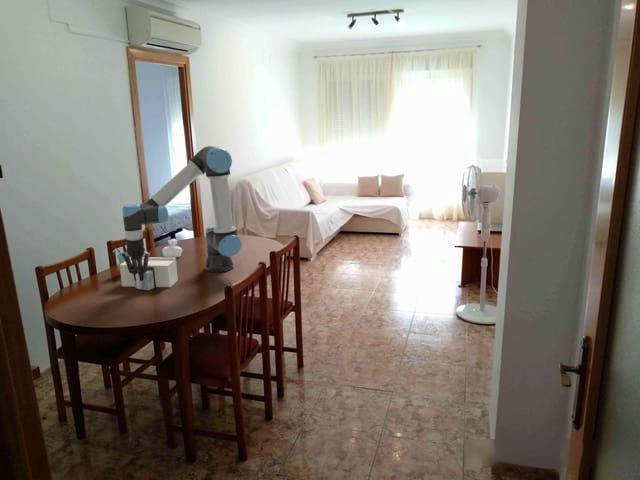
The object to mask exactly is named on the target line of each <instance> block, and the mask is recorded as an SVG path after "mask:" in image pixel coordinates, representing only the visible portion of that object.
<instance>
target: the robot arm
mask: <svg viewBox="0 0 640 480" xmlns="http://www.w3.org/2000/svg"><path fill="white" fill-rule="evenodd" d="M232 164H233V159H232V156H231V153H229V152H228V151H227V150H226V149H224V148H223V147H220V146H211V145H210V146H205V147H202V148H201V149H200V150H199V151H198V152H196V153H195V155H194V156H192V157H191V158H190V159H189V160H188V164H187V165H186V166H184V167H183V168H182V169H181V170H180V171H179V172H178V173H177V174H175V175H174V176H173V177H172V178H171V179H169V181H168V182H167V183H165V184H164V185H163V186H162V187H161V188H160V189H159V190H158V191H157V192H156V193H154V194H153V195H152V196H151V197H150V198H149V199H148V200H146V201H144V202H141V203H140V204H137V203H135V204H133V203H132V204H131V203H130V204H126V205H123V207H122V218H123V219H122V220H123V227H124V235H125V243H126V249H127V250H125V252H122V253H123V254H122V256H123V257H124V259H125V262H126V264H127V267H128V270H129V273H132V274H134V280H135V281H136V283H137V288H141V287H142V286H143V285H142V281H143V273H145V272H147V266H148V259H149V257H150V256H151V252H148V251H146V249H145V243H144V238H143V237H144V234H143V226H144V225H150V224H153V225H154V224H162V223H166V222H168V220H169V211H168V208H167V207H166V206H168V204H169V203H171V202H172V201H173V199H175V198H177V196H178V195H179V194H180V193H182V192H183V191H184V190H185V189H186V188H187V187H189V185H191V183H193V182H194V181H195V180H196V179H197V178H198V177H199V176H204V174H205V177H206V178H207V179H209V185H210V191H211V198H212V199H211V200H212V207H213V214H214V222H215V225H211V226H208V227H206V228H205V240H206V243H205V244H206V255H207V256H206V259H205V264H204V270H205V271H206V272H210V273H223V271H224V272H228V271H231V270H233V269H234V268H235V266H234V265H235V264H234V260H233V258H232V257H235V256H236V255H237V254H238V253H239V252H240V251H241V249H242V240H241V238H240V237H239V236H238V227H236V226H235V225H234V219H233V211H232V205H231V203H232V202H231V195H230V186H229V177H230V176H231V170H230V168H231V167H232ZM129 256H130V257H131V260H130V257H129ZM143 256H144V262H143V265H142V257H143ZM131 261H132V263H131ZM137 265H138V268H137ZM233 267H234V268H233ZM232 268H233V269H232Z"/></svg>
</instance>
